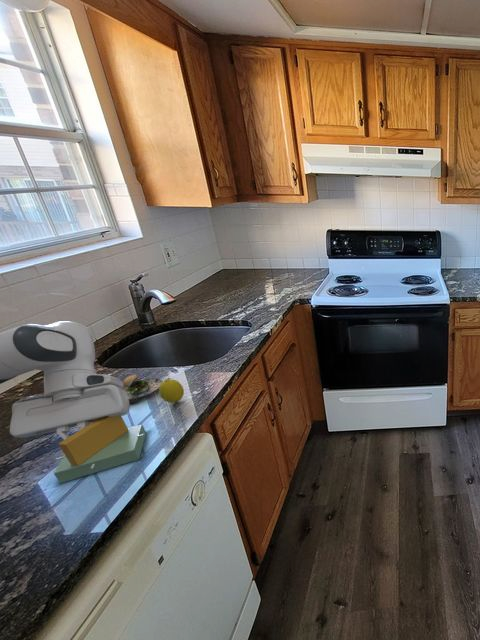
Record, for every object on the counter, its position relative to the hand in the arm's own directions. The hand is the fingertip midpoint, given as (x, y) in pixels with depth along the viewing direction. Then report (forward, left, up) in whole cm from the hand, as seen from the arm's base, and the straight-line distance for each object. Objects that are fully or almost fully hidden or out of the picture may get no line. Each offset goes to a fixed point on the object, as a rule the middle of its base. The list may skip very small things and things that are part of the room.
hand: (74, 444), depth 83 cm
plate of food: (+6, +31, -6) cm, 32 cm away
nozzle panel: (+4, +1, -6) cm, 7 cm away
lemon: (+16, +19, -6) cm, 25 cm away
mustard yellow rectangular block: (+4, +1, -3) cm, 5 cm away
